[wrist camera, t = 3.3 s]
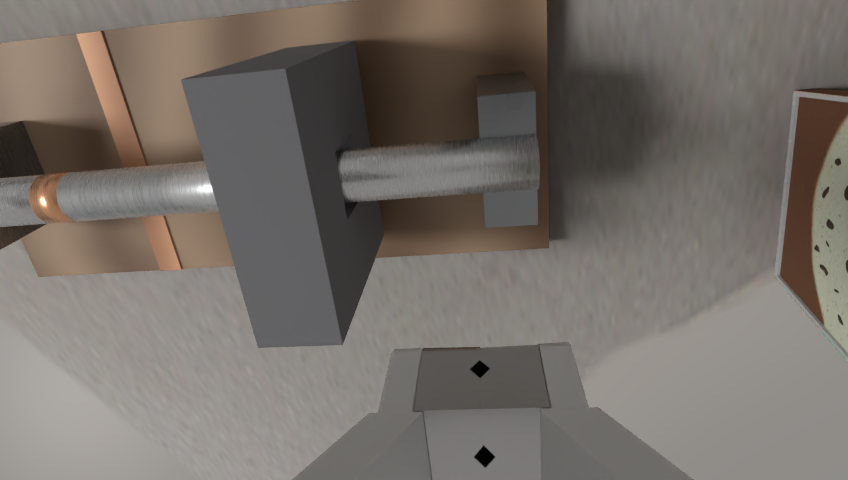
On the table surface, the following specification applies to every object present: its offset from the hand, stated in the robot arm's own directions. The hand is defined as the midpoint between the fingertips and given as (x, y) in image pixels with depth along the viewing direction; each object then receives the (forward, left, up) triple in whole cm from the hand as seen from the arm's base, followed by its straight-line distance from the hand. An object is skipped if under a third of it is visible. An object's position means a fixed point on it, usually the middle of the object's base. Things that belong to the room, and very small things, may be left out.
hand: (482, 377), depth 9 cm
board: (+11, 0, -18) cm, 21 cm away
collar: (+6, 0, -16) cm, 17 cm away
